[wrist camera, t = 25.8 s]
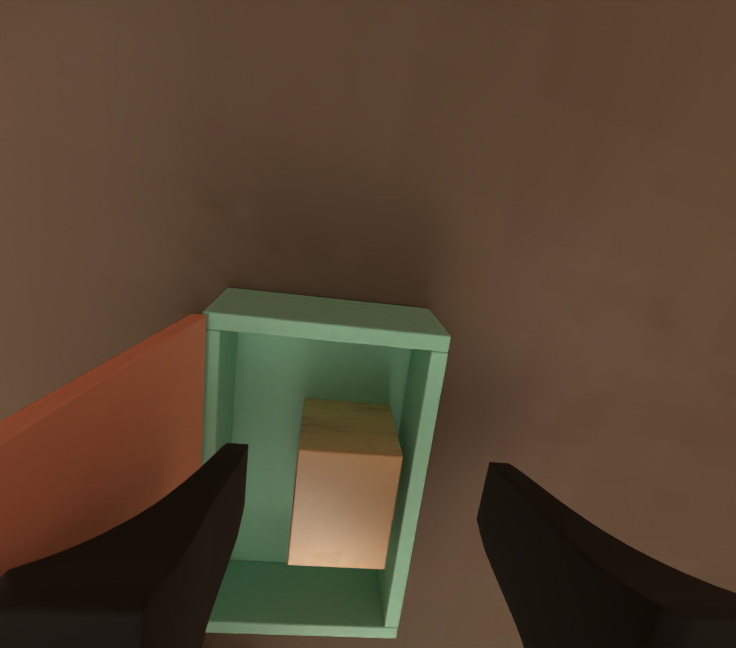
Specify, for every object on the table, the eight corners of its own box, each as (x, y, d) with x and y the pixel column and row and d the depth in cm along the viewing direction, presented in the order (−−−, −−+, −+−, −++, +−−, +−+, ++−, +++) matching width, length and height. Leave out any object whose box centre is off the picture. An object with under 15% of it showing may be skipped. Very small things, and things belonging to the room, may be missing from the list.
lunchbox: (429, 308, 19) (451, 336, 16) (386, 567, 23) (396, 639, 19) (227, 286, 19) (201, 311, 15) (215, 559, 22) (192, 633, 19)
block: (375, 500, 21) (384, 570, 17) (295, 495, 21) (286, 565, 17) (390, 404, 20) (403, 456, 16) (304, 397, 20) (297, 448, 16)
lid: (-52, 474, 6) (-312, 433, 6) (22, 1019, 10) (-147, 986, 10) (206, 315, 15) (91, 298, 15) (196, 640, 18) (103, 626, 18)
